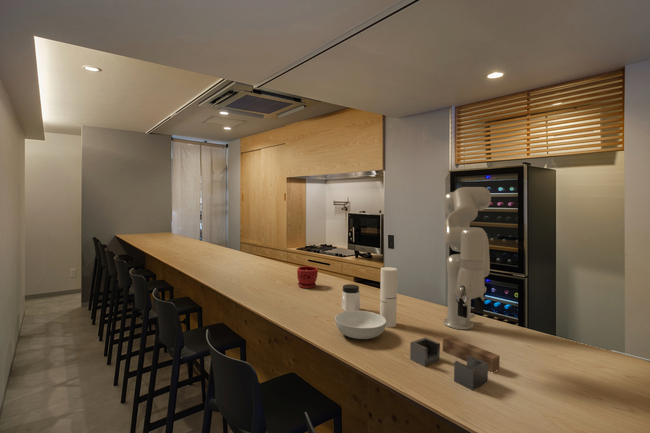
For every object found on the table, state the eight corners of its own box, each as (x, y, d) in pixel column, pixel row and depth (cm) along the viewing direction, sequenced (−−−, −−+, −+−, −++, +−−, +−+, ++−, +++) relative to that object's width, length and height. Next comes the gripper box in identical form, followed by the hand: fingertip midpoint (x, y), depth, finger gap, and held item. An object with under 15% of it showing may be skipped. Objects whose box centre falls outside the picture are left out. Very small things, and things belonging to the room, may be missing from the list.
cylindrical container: (396, 327, 147) (397, 270, 145) (379, 326, 148) (380, 270, 147) (396, 322, 154) (397, 267, 152) (380, 320, 155) (381, 266, 154)
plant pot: (294, 288, 210) (294, 269, 210) (299, 283, 223) (299, 265, 223) (315, 289, 208) (315, 270, 208) (319, 284, 221) (319, 266, 221)
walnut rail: (442, 351, 124) (442, 338, 124) (449, 349, 126) (449, 336, 126) (492, 373, 108) (492, 358, 108) (499, 370, 111) (499, 355, 110)
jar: (339, 307, 173) (339, 284, 173) (353, 306, 176) (353, 283, 176) (347, 313, 165) (347, 289, 164) (362, 311, 168) (362, 287, 168)
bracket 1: (410, 359, 117) (410, 342, 117) (424, 353, 122) (425, 337, 122) (424, 366, 112) (425, 348, 112) (439, 360, 117) (439, 343, 117)
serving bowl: (373, 350, 125) (373, 331, 124) (325, 337, 136) (325, 320, 135) (393, 332, 142) (393, 315, 142) (349, 322, 153) (349, 307, 153)
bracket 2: (487, 382, 103) (488, 363, 102) (472, 390, 98) (473, 370, 98) (468, 373, 108) (469, 355, 108) (453, 381, 103) (454, 362, 103)
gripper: (475, 261, 124) (474, 307, 124) (447, 265, 114) (445, 315, 114) (496, 264, 118) (494, 312, 118) (467, 268, 108) (466, 322, 108)
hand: (470, 314), depth 116 cm, fingers open, 9 cm apart
